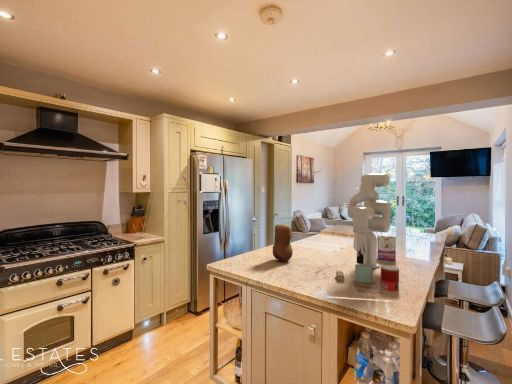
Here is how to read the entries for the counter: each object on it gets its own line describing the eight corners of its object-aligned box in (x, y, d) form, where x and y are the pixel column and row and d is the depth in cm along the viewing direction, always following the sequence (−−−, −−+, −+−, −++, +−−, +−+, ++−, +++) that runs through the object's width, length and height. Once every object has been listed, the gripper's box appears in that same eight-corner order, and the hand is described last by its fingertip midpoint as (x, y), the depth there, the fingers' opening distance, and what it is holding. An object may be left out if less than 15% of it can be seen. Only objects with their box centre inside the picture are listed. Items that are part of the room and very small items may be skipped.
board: (351, 282, 141) (351, 280, 141) (373, 283, 139) (373, 282, 139) (357, 293, 126) (357, 291, 126) (382, 295, 124) (382, 293, 124)
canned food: (399, 293, 126) (400, 270, 126) (381, 291, 129) (381, 268, 129) (397, 287, 133) (398, 265, 133) (380, 285, 136) (380, 264, 136)
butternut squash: (295, 259, 184) (295, 223, 184) (289, 264, 172) (289, 225, 171) (276, 257, 190) (276, 222, 189) (269, 262, 178) (269, 224, 177)
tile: (354, 281, 140) (355, 264, 140) (371, 282, 138) (371, 265, 138) (355, 282, 138) (355, 265, 138) (372, 283, 137) (372, 266, 137)
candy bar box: (394, 259, 187) (394, 235, 187) (395, 261, 182) (396, 237, 182) (376, 257, 190) (377, 234, 190) (377, 259, 186) (378, 236, 185)
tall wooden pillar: (332, 274, 154) (332, 267, 154) (342, 274, 153) (343, 267, 153) (335, 282, 141) (335, 275, 140) (347, 283, 140) (347, 275, 140)
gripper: (350, 227, 154) (350, 259, 154) (356, 231, 139) (355, 266, 139) (364, 228, 152) (363, 260, 153) (371, 232, 138) (370, 267, 138)
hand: (360, 263), depth 146 cm, fingers closed
